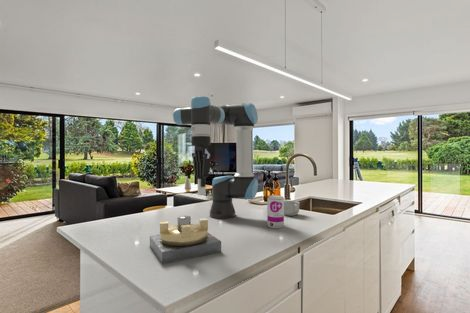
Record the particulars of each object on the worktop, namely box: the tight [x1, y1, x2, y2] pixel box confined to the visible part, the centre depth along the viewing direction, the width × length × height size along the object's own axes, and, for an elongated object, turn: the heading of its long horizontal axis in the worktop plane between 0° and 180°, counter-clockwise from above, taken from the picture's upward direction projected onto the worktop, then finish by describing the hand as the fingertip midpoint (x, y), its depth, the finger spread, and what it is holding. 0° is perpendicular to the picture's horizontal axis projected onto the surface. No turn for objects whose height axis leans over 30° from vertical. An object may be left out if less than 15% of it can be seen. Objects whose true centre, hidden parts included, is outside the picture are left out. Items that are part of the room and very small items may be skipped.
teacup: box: [284, 200, 300, 217], centre depth 158 cm, size 14×11×8 cm
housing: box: [149, 232, 222, 265], centre depth 104 cm, size 20×22×4 cm
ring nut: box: [159, 215, 209, 246], centre depth 104 cm, size 18×18×8 cm
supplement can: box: [266, 194, 285, 229], centre depth 135 cm, size 8×8×15 cm
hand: (201, 194), depth 108 cm, fingers closed
